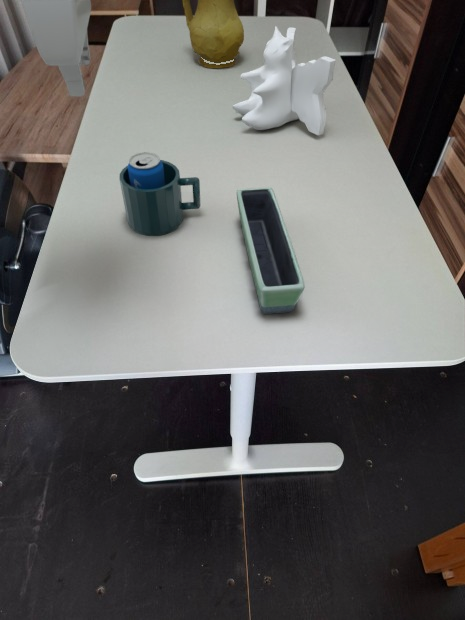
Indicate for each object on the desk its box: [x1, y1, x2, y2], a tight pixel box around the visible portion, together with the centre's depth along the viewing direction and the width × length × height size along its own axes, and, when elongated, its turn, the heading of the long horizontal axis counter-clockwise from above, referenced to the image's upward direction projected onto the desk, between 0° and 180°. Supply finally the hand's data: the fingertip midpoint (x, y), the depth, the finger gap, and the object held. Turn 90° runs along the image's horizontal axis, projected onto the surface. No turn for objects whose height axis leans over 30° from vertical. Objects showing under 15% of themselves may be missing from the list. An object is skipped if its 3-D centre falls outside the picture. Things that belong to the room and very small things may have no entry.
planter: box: [236, 187, 306, 315], centre depth 79 cm, size 28×7×7 cm, turn 7°
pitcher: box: [181, 0, 245, 69], centre depth 139 cm, size 17×19×25 cm
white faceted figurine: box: [232, 25, 337, 136], centre depth 112 cm, size 25×21×21 cm
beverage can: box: [127, 151, 165, 189], centre depth 85 cm, size 6×6×12 cm
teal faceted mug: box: [119, 159, 201, 237], centre depth 87 cm, size 15×11×10 cm
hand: (81, 78), depth 54 cm, fingers open, 8 cm apart
